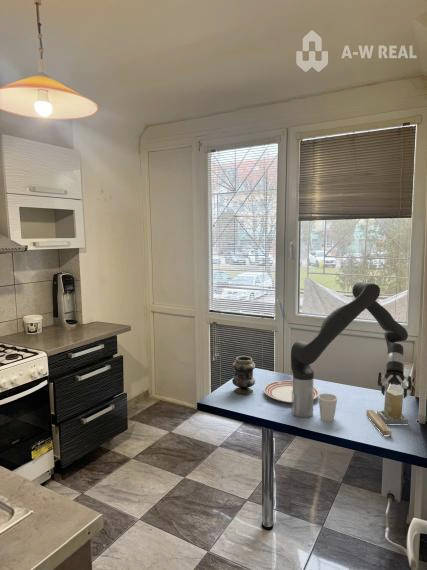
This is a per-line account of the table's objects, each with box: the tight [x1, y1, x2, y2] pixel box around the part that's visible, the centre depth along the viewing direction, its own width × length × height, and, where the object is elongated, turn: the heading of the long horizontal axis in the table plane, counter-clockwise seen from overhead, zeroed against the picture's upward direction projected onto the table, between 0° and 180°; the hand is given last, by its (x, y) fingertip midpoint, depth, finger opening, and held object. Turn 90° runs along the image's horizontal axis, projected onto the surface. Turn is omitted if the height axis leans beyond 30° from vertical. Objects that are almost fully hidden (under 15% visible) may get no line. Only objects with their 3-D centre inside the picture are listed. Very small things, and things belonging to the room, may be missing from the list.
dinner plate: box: [263, 380, 320, 404], centre depth 200 cm, size 27×27×3 cm
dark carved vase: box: [231, 355, 256, 396], centre depth 205 cm, size 12×12×18 cm
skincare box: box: [383, 389, 404, 419], centre depth 171 cm, size 6×4×12 cm
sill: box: [366, 409, 392, 436], centre depth 167 cm, size 3×20×2 cm, turn 178°
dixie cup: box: [317, 392, 338, 422], centre depth 174 cm, size 8×8×10 cm
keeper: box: [376, 409, 410, 425], centre depth 172 cm, size 10×10×2 cm
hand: (394, 396), depth 178 cm, fingers open, 8 cm apart
